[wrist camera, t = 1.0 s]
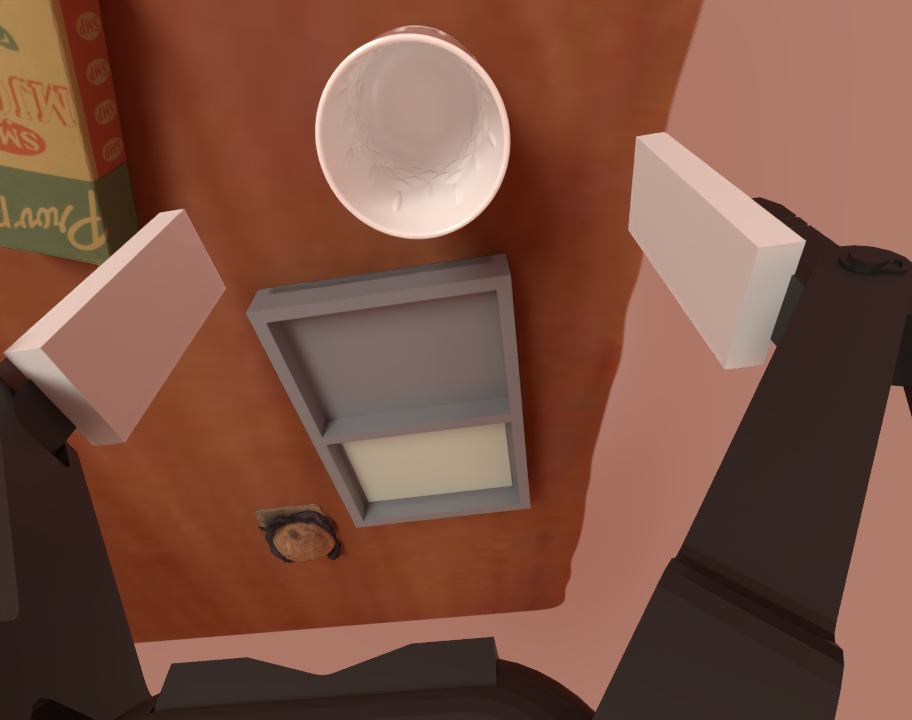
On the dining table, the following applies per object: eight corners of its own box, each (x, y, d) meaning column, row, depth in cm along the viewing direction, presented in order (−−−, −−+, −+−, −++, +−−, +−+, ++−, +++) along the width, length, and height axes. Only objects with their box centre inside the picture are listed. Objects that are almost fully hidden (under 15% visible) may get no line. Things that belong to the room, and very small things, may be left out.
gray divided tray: (360, 502, 52) (356, 527, 50) (258, 289, 35) (245, 312, 33) (526, 483, 51) (530, 508, 49) (505, 253, 34) (510, 274, 31)
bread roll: (250, 505, 53) (239, 535, 50) (325, 497, 52) (318, 528, 50) (284, 554, 60) (276, 584, 57) (351, 548, 59) (346, 578, 56)
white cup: (338, 143, 29) (302, 210, 21) (366, -15, 24) (333, -4, 16) (463, 184, 31) (471, 259, 23) (511, 44, 26) (542, 80, 18)
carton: (96, -59, 23) (40, -62, 20) (146, 243, 33) (115, 274, 30) (-112, -121, 21) (-209, -134, 18) (7, 216, 31) (-43, 246, 28)
